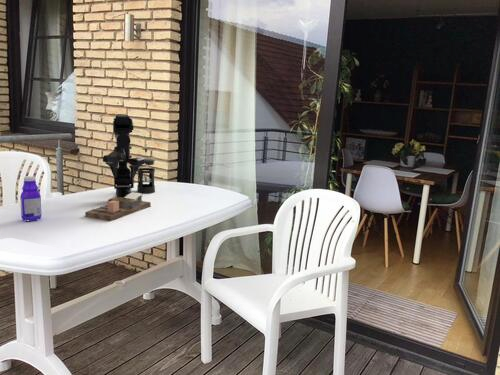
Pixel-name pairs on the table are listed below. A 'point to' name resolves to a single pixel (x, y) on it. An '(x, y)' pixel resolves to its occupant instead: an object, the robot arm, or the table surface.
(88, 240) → the table surface
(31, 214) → the bottle
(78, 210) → the table surface
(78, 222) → the table surface
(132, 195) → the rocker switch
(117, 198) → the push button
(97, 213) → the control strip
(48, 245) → the table surface
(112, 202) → the peach tinted cube
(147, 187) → the french press
